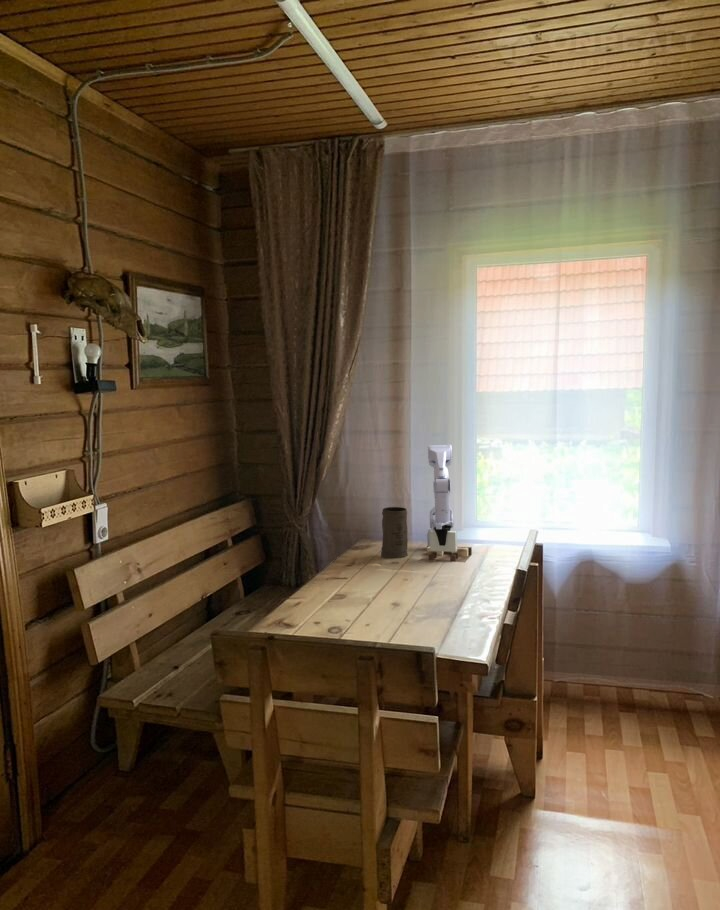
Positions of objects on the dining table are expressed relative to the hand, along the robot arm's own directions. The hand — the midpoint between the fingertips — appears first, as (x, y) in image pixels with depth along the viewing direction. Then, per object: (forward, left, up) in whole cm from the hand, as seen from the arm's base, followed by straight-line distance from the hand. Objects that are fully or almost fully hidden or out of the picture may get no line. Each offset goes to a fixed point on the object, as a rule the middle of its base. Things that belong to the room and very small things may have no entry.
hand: (443, 544), depth 269 cm
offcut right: (+5, +7, -6) cm, 11 cm away
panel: (0, 0, -2) cm, 2 cm away
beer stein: (-22, +3, -7) cm, 23 cm away
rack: (0, +3, -6) cm, 7 cm away
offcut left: (-5, +7, -6) cm, 11 cm away
